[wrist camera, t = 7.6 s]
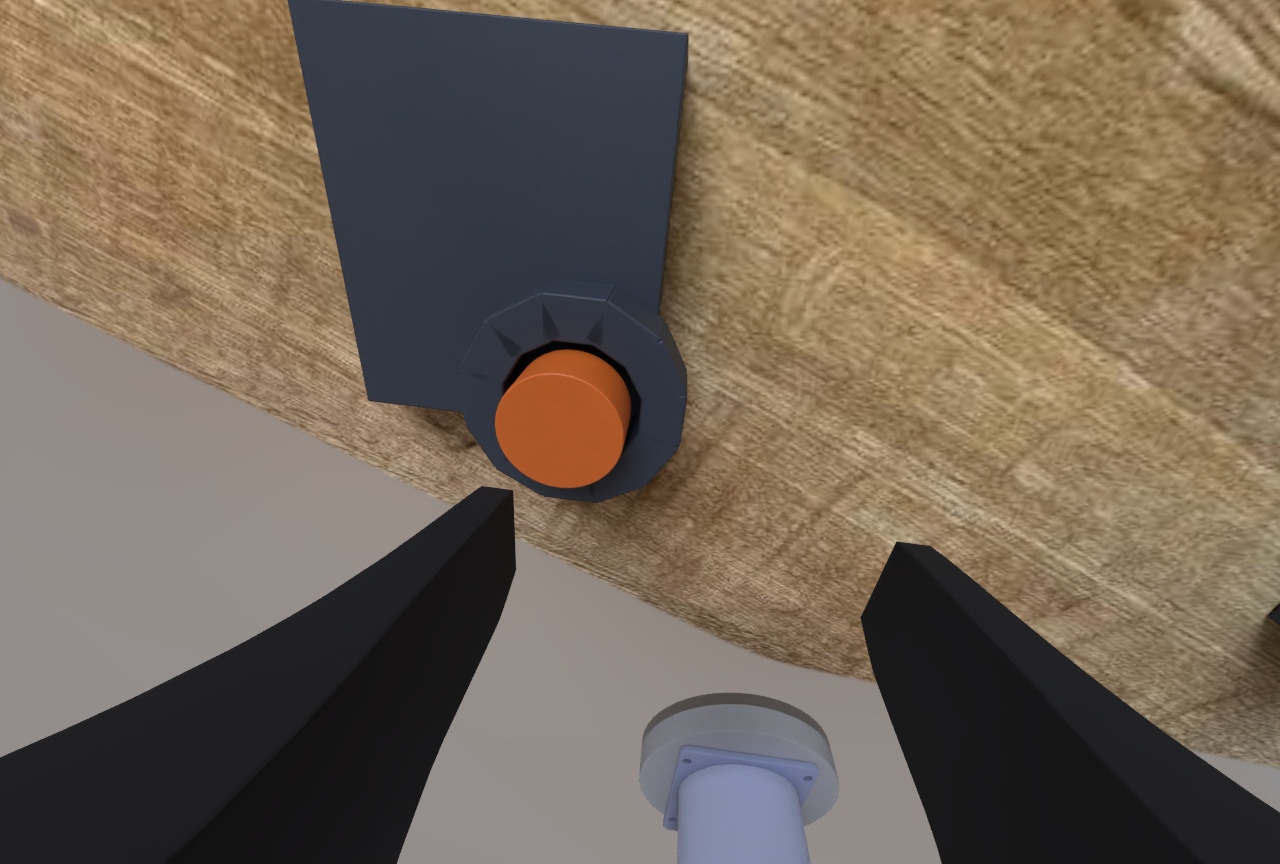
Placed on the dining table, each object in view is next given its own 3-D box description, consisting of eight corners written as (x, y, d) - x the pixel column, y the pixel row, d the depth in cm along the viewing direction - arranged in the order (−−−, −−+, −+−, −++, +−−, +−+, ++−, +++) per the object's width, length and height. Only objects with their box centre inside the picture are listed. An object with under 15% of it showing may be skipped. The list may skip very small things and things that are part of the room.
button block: (673, 446, 18) (669, 513, 14) (409, 414, 18) (342, 471, 15) (729, 59, 12) (746, 11, 9) (347, 22, 13) (215, -37, 9)
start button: (626, 460, 14) (619, 496, 12) (518, 447, 14) (497, 480, 12) (636, 356, 12) (629, 382, 11) (514, 342, 12) (490, 365, 11)
